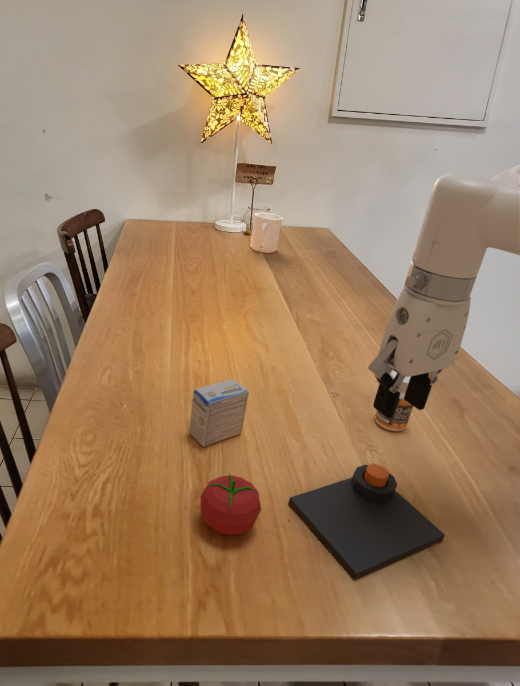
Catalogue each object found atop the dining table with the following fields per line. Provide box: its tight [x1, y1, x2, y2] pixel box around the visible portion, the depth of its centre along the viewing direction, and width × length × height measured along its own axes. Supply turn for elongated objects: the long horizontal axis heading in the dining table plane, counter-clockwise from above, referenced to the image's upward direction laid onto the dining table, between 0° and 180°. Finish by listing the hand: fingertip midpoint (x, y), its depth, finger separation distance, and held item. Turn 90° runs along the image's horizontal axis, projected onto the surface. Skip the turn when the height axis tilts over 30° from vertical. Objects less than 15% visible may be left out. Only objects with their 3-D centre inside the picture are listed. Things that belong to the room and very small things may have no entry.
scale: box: [288, 464, 446, 581], centre depth 74 cm, size 16×14×3 cm
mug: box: [249, 211, 283, 254], centre depth 184 cm, size 10×12×12 cm
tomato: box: [200, 473, 262, 536], centre depth 70 cm, size 8×8×8 cm
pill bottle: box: [374, 370, 414, 432], centre depth 96 cm, size 6×6×10 cm
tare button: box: [364, 463, 390, 487], centre depth 78 cm, size 3×3×2 cm
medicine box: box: [188, 378, 250, 448], centre depth 87 cm, size 8×4×9 cm, turn 126°
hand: (398, 407), depth 73 cm, fingers open, 5 cm apart
